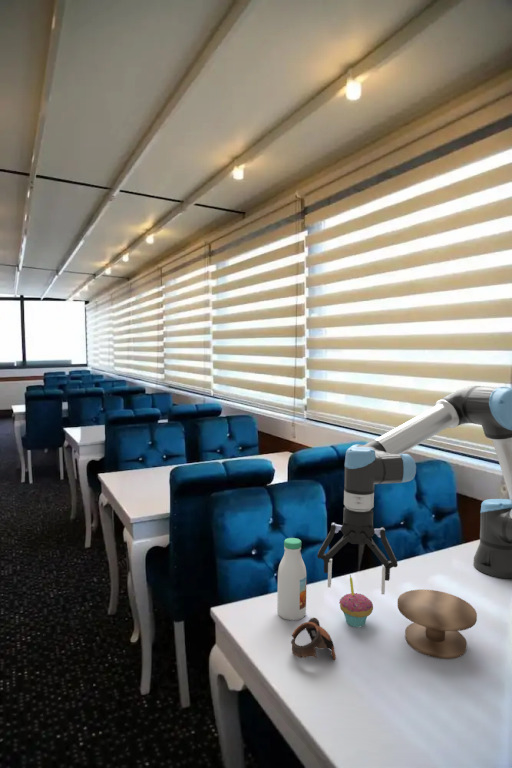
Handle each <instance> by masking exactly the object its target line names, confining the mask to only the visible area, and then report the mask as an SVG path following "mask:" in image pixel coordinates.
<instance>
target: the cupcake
mask: <svg viewBox="0 0 512 768" xmlns="http://www.w3.org/2000/svg"><path fill="white" fill-rule="evenodd" d="M349 583H350V593H346V594H344V595H343V596H342V597H341V598H340V599H339V608H340V610H341V611H342V613H343V614H344V619H345V622H346V624H347V625H348V626H350V627H354V628H361V627H364V626H365V624H366V622H367V618H368V617H369V616H370V615H371V614H372V613H373V610H374V604H373V602H372V600H371V599H370V598H368V596H365V595H364V594H361V593H357V592H356V593H355V591H354V582H353V577H352V575H351V574H349Z"/></svg>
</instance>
